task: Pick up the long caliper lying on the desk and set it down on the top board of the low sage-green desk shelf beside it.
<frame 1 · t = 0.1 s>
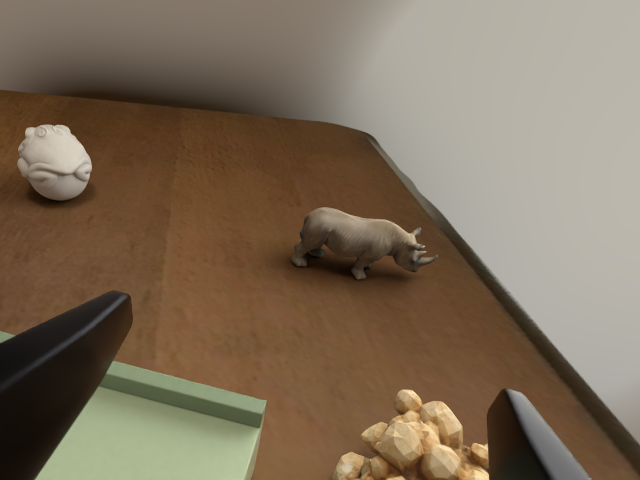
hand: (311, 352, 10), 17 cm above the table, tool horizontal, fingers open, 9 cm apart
rhino figurine: (359, 271, 41), on the table
frog figurine: (62, 197, 42), on the table
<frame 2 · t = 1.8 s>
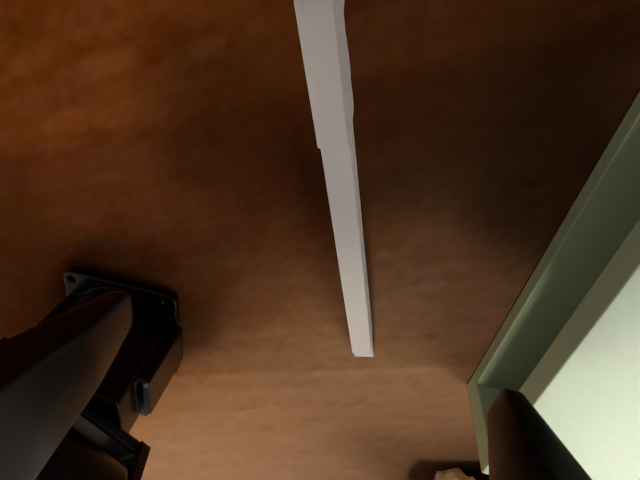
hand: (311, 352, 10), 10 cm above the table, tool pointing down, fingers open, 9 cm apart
caliper: (351, 180, 18), on the table
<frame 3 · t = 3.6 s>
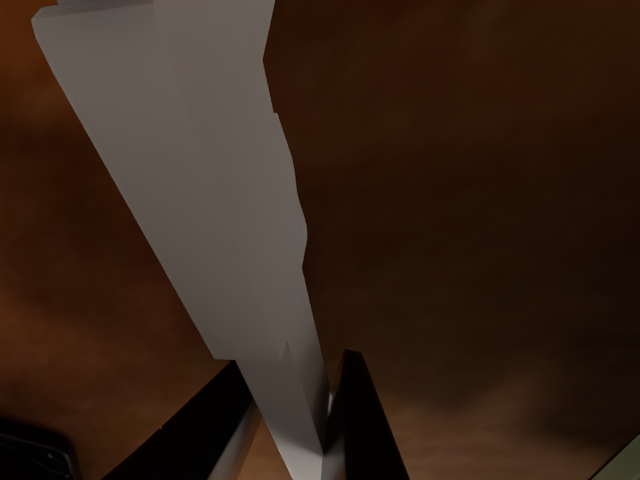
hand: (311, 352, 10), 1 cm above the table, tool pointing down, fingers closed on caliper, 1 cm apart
caliper: (317, 316, 11), on the table, touching gripper
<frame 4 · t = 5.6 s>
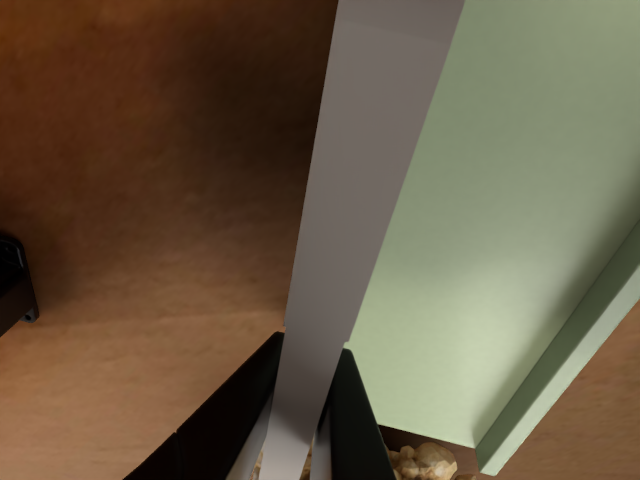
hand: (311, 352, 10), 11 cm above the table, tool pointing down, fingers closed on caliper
caliper: (318, 314, 11), point 10 cm above the table, touching gripper
mineral formation: (377, 453, 31), on the table
desk shelf: (446, 198, 19), on the table
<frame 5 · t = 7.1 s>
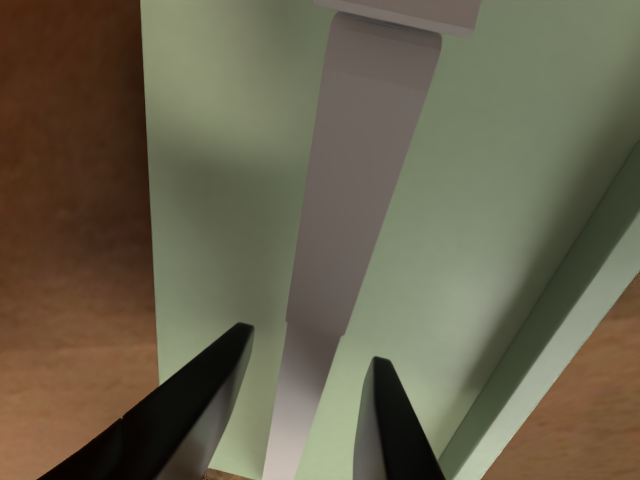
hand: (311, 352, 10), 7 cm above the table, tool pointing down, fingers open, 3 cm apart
caliper: (321, 297, 12), point 5 cm above the table, touching desk shelf
desk shelf: (356, 216, 16), on the table
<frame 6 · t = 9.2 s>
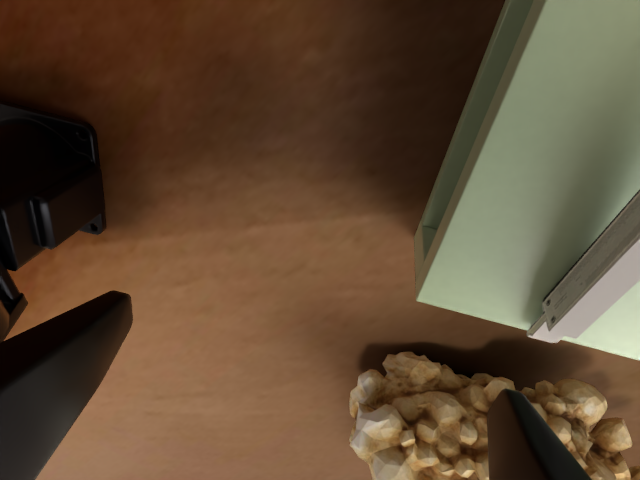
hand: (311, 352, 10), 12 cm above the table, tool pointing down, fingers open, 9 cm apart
mineral formation: (483, 402, 27), on the table
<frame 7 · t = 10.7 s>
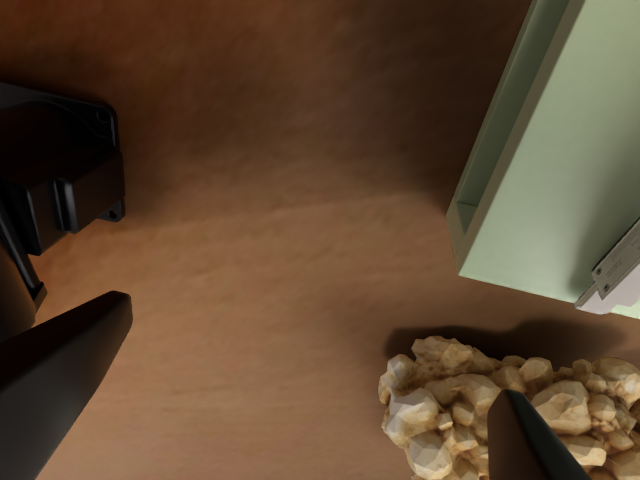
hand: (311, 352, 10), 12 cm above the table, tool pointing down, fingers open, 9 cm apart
mineral formation: (512, 386, 26), on the table
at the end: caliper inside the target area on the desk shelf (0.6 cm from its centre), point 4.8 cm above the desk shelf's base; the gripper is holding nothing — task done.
